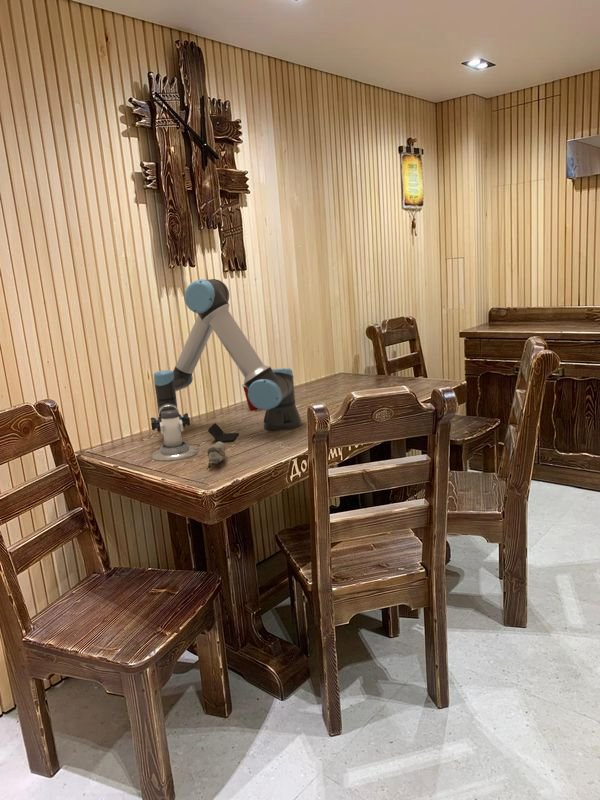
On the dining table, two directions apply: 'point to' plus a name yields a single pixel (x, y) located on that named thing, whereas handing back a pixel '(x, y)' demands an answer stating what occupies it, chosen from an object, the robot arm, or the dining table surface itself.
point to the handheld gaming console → (222, 434)
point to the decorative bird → (216, 454)
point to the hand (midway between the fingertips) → (171, 428)
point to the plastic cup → (248, 399)
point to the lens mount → (175, 452)
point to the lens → (171, 428)
